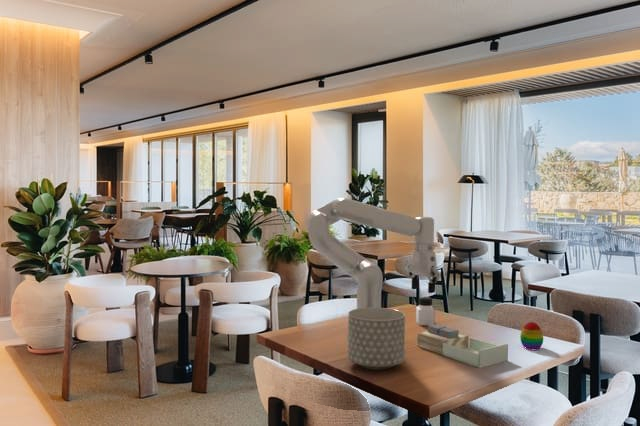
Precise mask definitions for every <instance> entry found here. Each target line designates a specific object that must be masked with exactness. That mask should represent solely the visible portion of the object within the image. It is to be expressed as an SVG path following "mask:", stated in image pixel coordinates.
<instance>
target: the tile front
mask: <svg viewBox="0 0 640 426" xmlns="http://www.w3.org/2000/svg"><path fill="white" fill-rule="evenodd" d="M459 333H460V332H459V329H456V328H452V327H447V328H443V329H439V336H442V337H445V338H449V339H450V338H455V337H458V334H459Z"/></svg>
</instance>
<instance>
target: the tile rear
mask: <svg viewBox="0 0 640 426" xmlns="http://www.w3.org/2000/svg"><path fill="white" fill-rule="evenodd" d="M443 328H448V327H447V326H445V325H442V324H438V323H436V324H435V323H434V325H427V331H428V332H429V333H432V334H436V335H439V329H443Z"/></svg>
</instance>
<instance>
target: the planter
mask: <svg viewBox="0 0 640 426" xmlns="http://www.w3.org/2000/svg"><path fill="white" fill-rule="evenodd" d="M347 322H348V325H347V327H348V328H347V329H348V331H347V332H348V334H347V335H348V340H347V344H348V345H347V346H348V347H347V349H348V350H347V359H348V360H349V361H350V362H353V363H355V364H357V365H359V366H360V367H362V368H365V369H367V370H370V371H371V370H372V371H384V370H388V369H391V368H392V367H394V366H397V365H398V366H399V365H400V364H402V363H403V362H404V361H405V346H406V345H405V342H406V341H405V334H406V331H405V329H406V324H405V323H406V313H404V312H403V311H401V310H398V309H393V308H387V307H386V308H385V307H381V308H359V309H357V308H355V309H351V310H350V311H348V321H347Z"/></svg>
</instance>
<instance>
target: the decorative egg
mask: <svg viewBox="0 0 640 426" xmlns="http://www.w3.org/2000/svg"><path fill="white" fill-rule="evenodd" d="M543 334H544V333H543V331H542V329H541V327H540V326H539V324H537V323H536V322H534V321H529V322H527V323H526V324H524V326H523V327H522V328H521V331H520V336H519V337H520V342H521V343H520V344H521V345H522V346H523V348H525V347H526V348H525V349H527V348H529V349H528V350H532V349H537V350H539V349H540V348H541V347H542V346H543V343H544V335H543Z"/></svg>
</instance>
